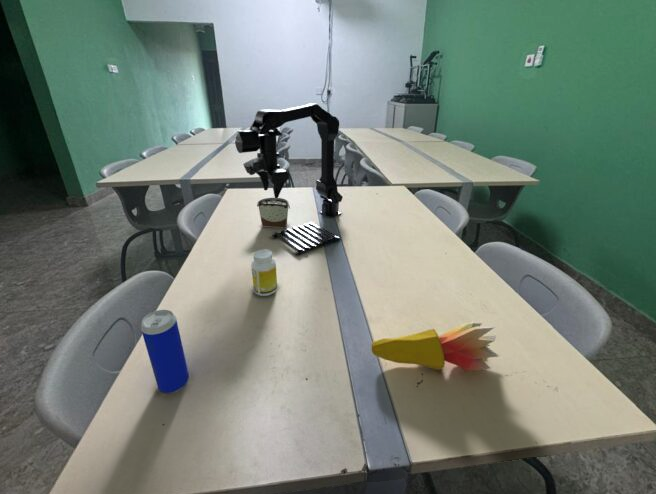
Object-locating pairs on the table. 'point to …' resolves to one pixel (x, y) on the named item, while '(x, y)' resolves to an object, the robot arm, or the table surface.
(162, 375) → the beverage can
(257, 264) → the pill bottle
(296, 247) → the drying rack
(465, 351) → the torch
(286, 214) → the food container
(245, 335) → the table surface
